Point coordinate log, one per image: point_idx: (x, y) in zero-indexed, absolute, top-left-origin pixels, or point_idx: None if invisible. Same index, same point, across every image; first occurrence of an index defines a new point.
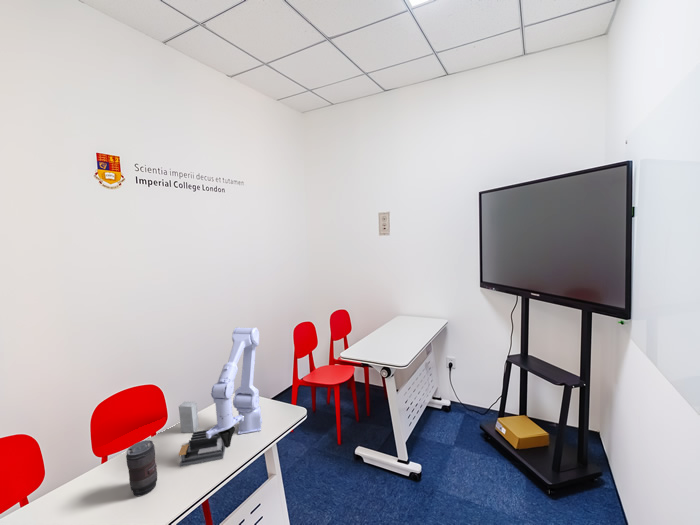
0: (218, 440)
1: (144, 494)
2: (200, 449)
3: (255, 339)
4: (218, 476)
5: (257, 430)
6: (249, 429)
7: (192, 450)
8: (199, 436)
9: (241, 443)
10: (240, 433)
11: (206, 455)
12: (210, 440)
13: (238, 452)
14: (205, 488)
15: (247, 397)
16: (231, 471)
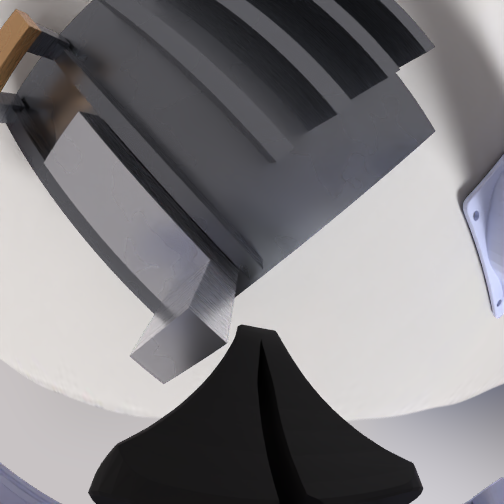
0: (167, 346)
1: None
2: (82, 123)
3: None
4: (100, 386)
5: (494, 308)
6: (499, 272)
7: (106, 33)
8: None
9: (385, 311)
10: (469, 222)
11: (89, 231)
12: (210, 96)
13: None
14: (45, 373)
15: None
16: (157, 417)
